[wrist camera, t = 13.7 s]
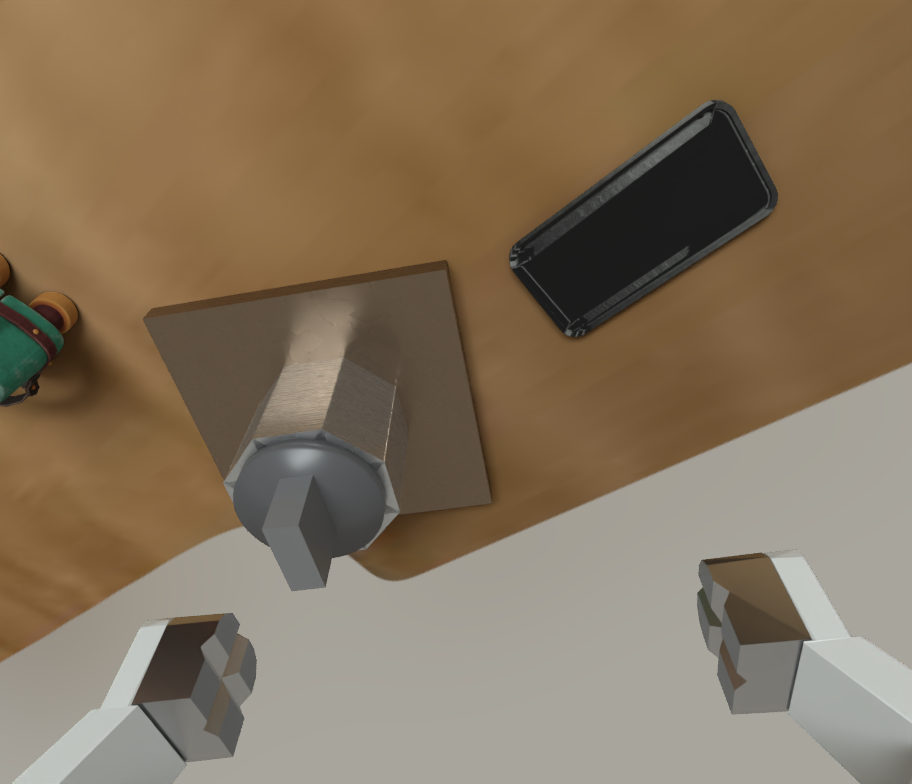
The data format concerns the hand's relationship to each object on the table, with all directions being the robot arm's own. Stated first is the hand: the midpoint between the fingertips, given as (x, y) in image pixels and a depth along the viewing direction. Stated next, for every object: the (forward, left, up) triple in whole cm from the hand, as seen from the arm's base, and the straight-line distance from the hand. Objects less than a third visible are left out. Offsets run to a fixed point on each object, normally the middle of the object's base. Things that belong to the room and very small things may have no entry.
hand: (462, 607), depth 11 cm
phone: (-10, +6, -32) cm, 34 cm away
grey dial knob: (+12, +16, -24) cm, 31 cm away
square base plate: (+12, +16, -31) cm, 37 cm away
